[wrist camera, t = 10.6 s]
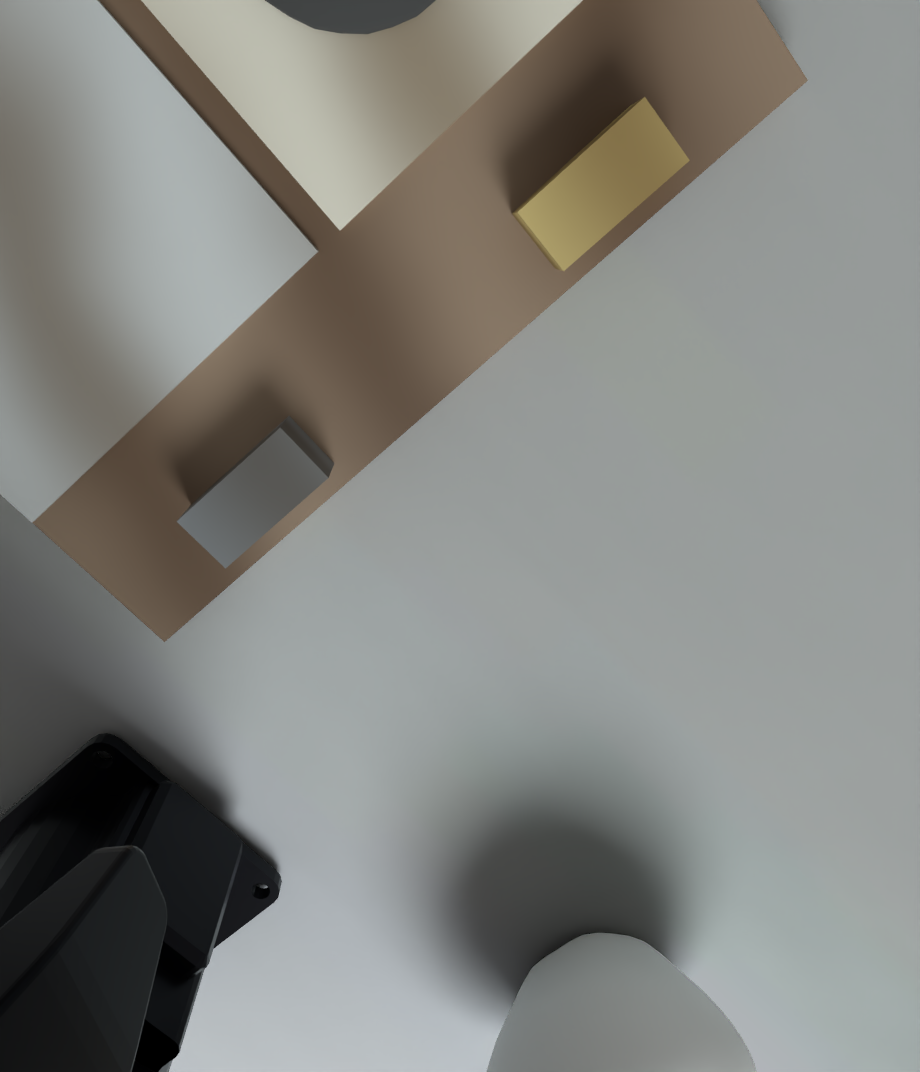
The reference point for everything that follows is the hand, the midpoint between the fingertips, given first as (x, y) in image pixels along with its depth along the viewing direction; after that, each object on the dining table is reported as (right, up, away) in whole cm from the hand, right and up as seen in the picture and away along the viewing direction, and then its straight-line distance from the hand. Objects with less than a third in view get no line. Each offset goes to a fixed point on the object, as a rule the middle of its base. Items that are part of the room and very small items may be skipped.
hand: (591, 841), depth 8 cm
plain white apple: (+3, -10, +17) cm, 20 cm away
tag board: (-6, +11, +9) cm, 16 cm away
